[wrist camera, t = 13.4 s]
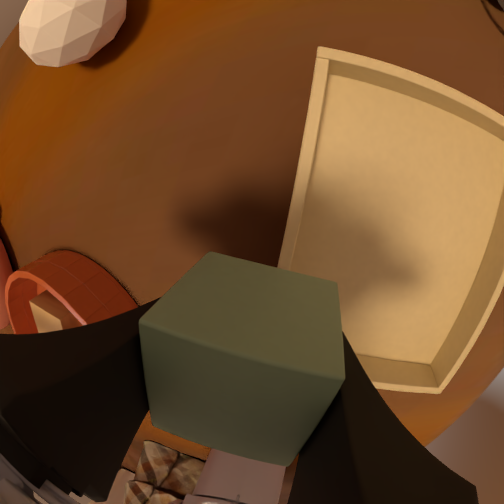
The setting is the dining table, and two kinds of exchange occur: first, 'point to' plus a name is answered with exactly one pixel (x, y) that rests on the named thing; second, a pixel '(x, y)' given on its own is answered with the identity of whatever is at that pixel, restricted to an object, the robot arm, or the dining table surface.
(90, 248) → the dining table surface
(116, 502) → the cup
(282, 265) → the beige rectangular tray
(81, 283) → the bowl
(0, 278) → the teapot
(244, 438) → the block
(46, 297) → the block
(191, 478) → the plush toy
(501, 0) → the alarm clock
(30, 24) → the geometric ball
